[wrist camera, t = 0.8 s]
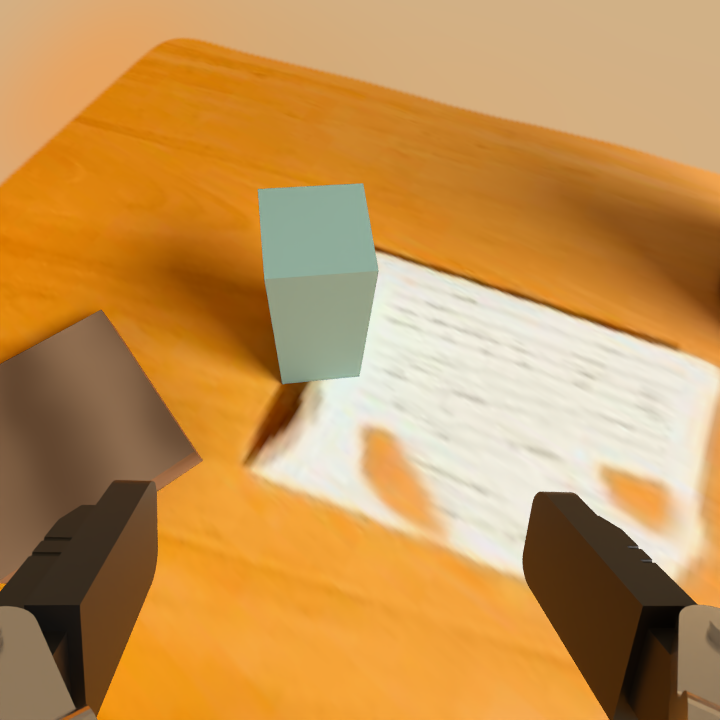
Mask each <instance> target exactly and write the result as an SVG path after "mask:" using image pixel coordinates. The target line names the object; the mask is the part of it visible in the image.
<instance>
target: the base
mask: <svg viewBox="0 0 720 720" xmlns="http://www.w3.org/2000/svg"><path fill="white" fill-rule="evenodd" d="M201 461H203V460H202V459H201V457H200V456H199V454H198V453H197V451H196V450H195V448H194V447H193V445H192V444H191V442H190V441H189V439H188V438H187V436H186V435H185V433H184V432H183V430H182V429H181V427H180V426H179V424H178V422H177V421H176V419H175V418H174V416H173V415H172V413H171V412H170V410H169V409H168V407H167V406H166V404H165V403H164V401H163V400H162V398H161V397H160V395H159V394H158V392H157V391H156V389H155V388H154V386H153V385H152V383H151V382H150V380H149V379H148V377H147V376H146V374H145V373H144V371H143V370H142V368H141V367H140V365H139V363H138V362H137V360H136V359H135V357H134V356H133V354H132V353H131V351H130V350H129V348H128V347H127V345H126V344H125V342H124V341H123V339H122V338H121V336H120V335H119V333H118V332H117V330H116V329H115V327H114V326H113V324H112V323H111V322H110V320H109V319H108V318H107V316H106V315H105V314H104V312H103V311H102V310H100V311H98V312H96V313H94V314H92V315H90V316H89V317H87V318H85V319H83V320H81V321H79V322H77V323H76V324H74V325H72V326H70V327H68V328H66V329H64V330H63V331H61V332H59V333H57V334H55V335H53V336H51V337H50V338H48V339H46V340H44V341H42V342H40V343H38V344H37V345H35V346H33V347H31V348H29V349H27V350H25V351H24V352H22V353H20V354H18V355H16V356H14V357H12V358H11V359H9V360H7V361H5V362H3V363H1V364H0V583H8V581H9V580H10V579H11V578H12V576H13V575H14V574H15V573H16V571H17V570H18V569H19V568H20V566H21V565H22V564H23V563H24V561H25V560H26V559H27V558H28V557H29V556H31V555H32V552H33V550H34V549H35V548H36V547H37V545H38V544H39V543H40V542H41V541H44V537H45V535H46V534H47V533H48V532H49V530H50V529H51V528H52V527H53V526H54V524H55V523H56V522H57V521H58V519H60V518H61V517H63V516H65V515H66V514H68V513H69V512H71V511H73V510H74V509H76V508H77V507H79V506H81V505H96V504H97V502H98V501H99V500H100V498H101V497H102V495H103V494H104V493H105V491H106V490H107V489H108V487H109V486H110V484H111V483H112V482H113V481H114V480H137V481H154V482H155V484H156V490H157V491H158V490H160V489H161V488H163V487H164V486H166V485H167V484H169V483H170V482H172V481H173V480H175V479H176V478H178V477H179V476H181V475H182V474H184V473H185V472H187V471H188V470H189V469H191V468H192V467H194V466H195V465H197V464H198V463H200V462H201Z"/></svg>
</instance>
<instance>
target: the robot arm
mask: <svg viewBox="0 0 720 720" xmlns="http://www.w3.org/2000/svg"><path fill="white" fill-rule="evenodd" d="M157 553H158V538H157V490H156V484H155V482H154V481H137V480H114V481H113V482H112V483H111V484H110V486H109V487H108V489H107V490H106V491H105V493H104V494H103V495H102V497H101V498H100V500H99V501H98V502H97V504H96V505H81V506H79V507H77V508H76V509H74V510H73V511H71V512H69V513H68V514H66V515H65V516H63V517H61V518H60V519H58V521H57V522H56V523H55V524H54V526H53V527H52V528H51V529H50V530H49V532H48V533H47V534H46V535H45V537H44V541H41V542H40V543H39V544H38V545H37V547H36V548H35V549H34V550H33V552H32V555H31V556H29V557H28V558H27V559H26V560H25V561H24V563H23V564H22V565H21V566H20V568H19V569H18V570H17V571H16V573H15V574H14V575H13V576H12V578H11V579H10V580H9V581H8V583H7V584H6V585H5V586H4V588H3V589H2V590H1V591H0V720H97V718H96V717H97V715H98V712H99V710H100V707H101V705H102V702H103V700H104V698H105V695H106V693H107V690H108V688H109V685H110V683H111V681H112V678H113V676H114V673H115V671H116V669H117V666H118V664H119V661H120V659H121V656H122V654H123V652H124V649H125V647H126V644H127V642H128V639H129V637H130V635H131V632H132V630H133V627H134V625H135V623H136V620H137V618H138V615H139V613H140V610H141V608H142V606H143V603H144V601H145V598H146V596H147V593H148V591H149V589H150V586H151V584H152V581H153V578H154V574H155V569H156V563H157ZM523 571H524V576H525V579H526V582H527V584H528V586H529V588H530V589H531V591H532V593H533V594H534V596H535V598H536V599H537V601H538V602H539V604H540V606H541V607H542V609H543V611H544V612H545V614H546V616H547V617H548V619H549V621H550V622H551V624H552V626H553V627H554V629H555V631H556V632H557V634H558V635H559V637H560V639H561V640H562V642H563V644H564V645H565V647H566V649H567V650H568V652H569V654H570V655H571V657H572V659H573V660H574V662H575V664H576V665H577V667H578V668H579V670H580V672H581V673H582V675H583V677H584V678H585V680H586V682H587V683H588V685H589V687H590V688H591V690H592V692H593V693H594V695H595V697H596V698H597V700H598V701H599V703H600V705H601V706H602V708H603V710H604V711H605V713H606V715H607V716H608V718H609V720H720V608H716V607H712V606H706V605H698V604H696V603H695V602H694V601H693V600H692V599H691V598H690V597H689V596H688V595H687V594H686V593H685V592H684V591H683V590H682V589H681V588H680V587H679V586H678V585H677V584H676V583H675V582H674V581H673V580H672V579H671V578H670V577H669V576H668V575H667V574H666V573H665V572H664V571H663V570H662V569H661V568H660V567H659V566H658V565H657V564H656V563H652V559H651V558H650V557H649V556H648V555H647V554H646V553H645V552H644V551H643V550H642V549H639V548H638V545H637V544H636V543H635V542H634V541H633V540H632V539H631V538H630V537H629V536H628V535H627V534H626V533H625V532H624V531H623V530H621V529H620V528H618V527H617V526H615V525H613V524H612V523H610V522H608V521H607V520H605V519H603V518H602V517H600V516H597V515H596V514H595V513H594V512H593V511H592V510H591V509H590V508H589V507H588V506H587V505H586V504H585V503H584V502H583V501H582V499H581V498H580V497H579V496H578V495H576V494H575V493H571V492H538V493H537V494H536V495H535V497H534V500H533V503H532V508H531V514H530V519H529V524H528V530H527V535H526V540H525V546H524V551H523Z"/></svg>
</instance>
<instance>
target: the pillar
mask: <svg viewBox="0 0 720 720" xmlns="http://www.w3.org/2000/svg"><path fill="white" fill-rule="evenodd" d="M258 198H259V212H260V226H261V240H262V253H263V267H264V280H265V286H266V292H267V298H268V303H269V309H270V315H271V321H272V327H273V332H274V338H275V344H276V350H277V356H278V362H279V367H280V373H281V379H282V384H286V383H297V382H307V381H317V380H327V379H337V378H348V377H358V376H359V375H360V370H361V364H362V359H363V353H364V348H365V342H366V337H367V331H368V326H369V320H370V315H371V309H372V304H373V298H374V293H375V287H376V281H377V276H378V265H377V260H376V254H375V248H374V243H373V237H372V231H371V226H370V220H369V214H368V209H367V203H366V197H365V192H364V186H363V183H362V184H344V185H326V186H307V187H289V188H270V189H258Z"/></svg>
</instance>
